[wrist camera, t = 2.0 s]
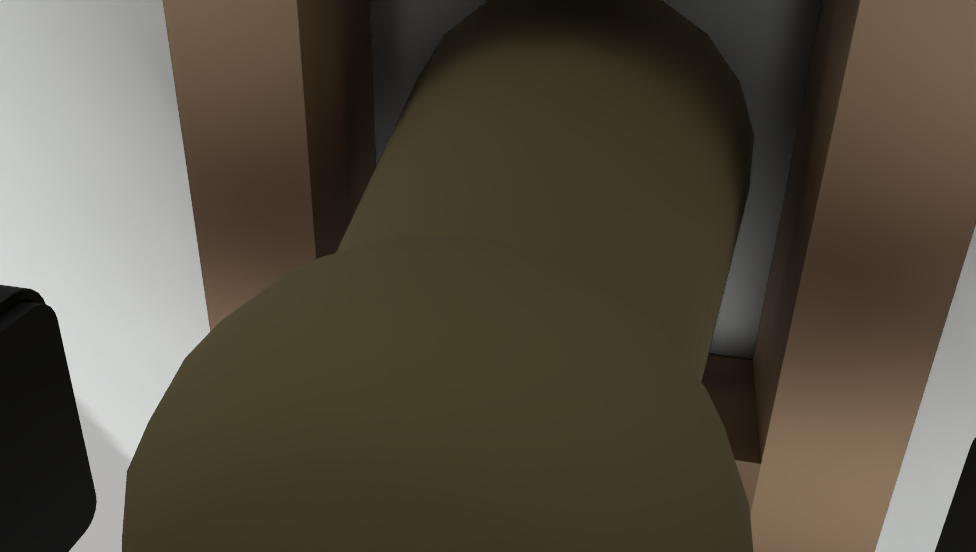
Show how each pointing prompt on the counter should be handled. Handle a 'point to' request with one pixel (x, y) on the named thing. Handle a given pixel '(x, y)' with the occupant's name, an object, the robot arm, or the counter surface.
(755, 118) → the counter surface
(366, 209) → the cork
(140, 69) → the counter surface
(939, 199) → the socket block
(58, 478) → the robot arm
